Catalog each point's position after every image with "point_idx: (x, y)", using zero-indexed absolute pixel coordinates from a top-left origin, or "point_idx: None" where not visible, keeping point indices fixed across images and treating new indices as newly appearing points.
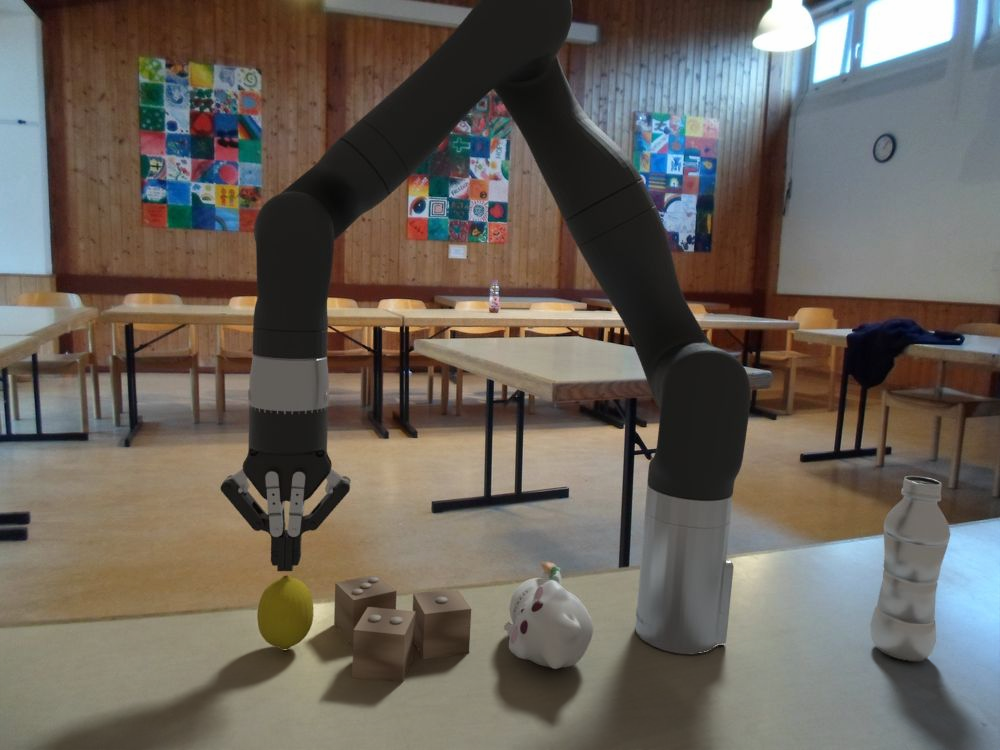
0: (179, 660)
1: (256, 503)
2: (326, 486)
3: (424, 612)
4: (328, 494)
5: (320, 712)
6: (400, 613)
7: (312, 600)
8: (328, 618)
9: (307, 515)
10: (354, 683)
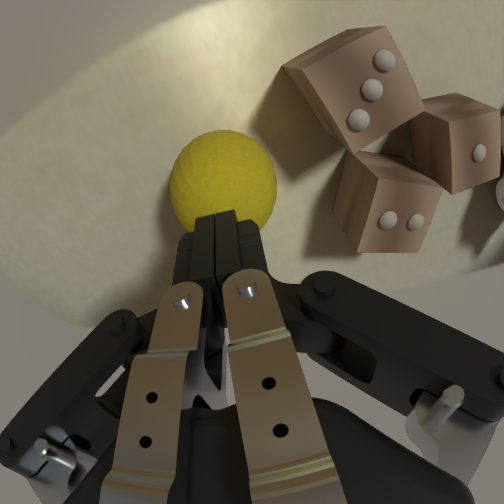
0: (95, 211)
1: (99, 387)
2: (414, 442)
3: (452, 190)
4: (412, 407)
5: (304, 273)
6: (423, 197)
7: (274, 174)
8: (265, 44)
9: (303, 328)
10: (336, 223)
